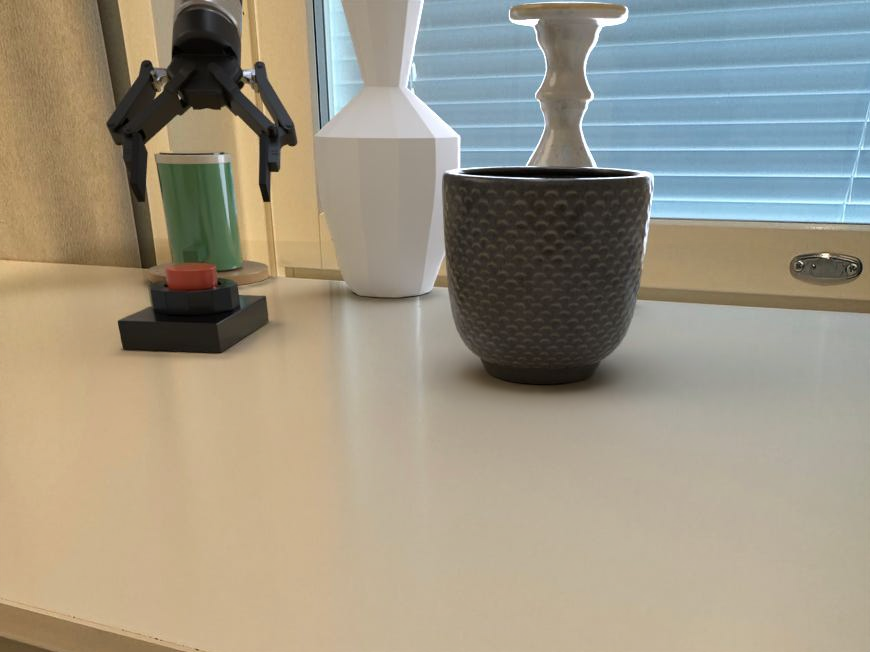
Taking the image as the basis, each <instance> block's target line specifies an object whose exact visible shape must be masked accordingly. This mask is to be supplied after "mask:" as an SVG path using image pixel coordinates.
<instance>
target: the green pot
mask: <svg viewBox="0 0 870 652" xmlns="http://www.w3.org/2000/svg"><path fill="white" fill-rule="evenodd" d="M231 156H232V155H231V153H229V152H225V151H224V150H223V151H222V150H164V151H159V152H157V153H154V162H155V164H156V172H157V178H158V184H159V190H160V195H161V202H162V203H161V204H162V208H163V214H164V221H165V227H166V228H165V229H166V235H167V239H168V245H169V251H170V259H171V263H172V265H175V264H184V263H206V264H212V265H215V266H216V271H221V270H230V269H235V268H239V267H242V266H243V260H244V259H243V257H244V256H243V250H242V243H241V234H240V226H239V217H238V210H237V200H236V193H235V186H234V185H235V184H234V177H233V168H232V157H231Z"/></svg>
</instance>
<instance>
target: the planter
mask: <svg viewBox="0 0 870 652" xmlns="http://www.w3.org/2000/svg"><path fill="white" fill-rule="evenodd" d="M654 179H655V178H654V175H653V173H651V172H648V171H643V170H636V169H626V168H625V169H624V168H610V167H597V168H594V167H558V166H526V165H522V166H521V165H520V166H519V165H514V166H481V167H480V166H479V167H478V166H477V167H465V168H460V169H453V170H448V171H445V173H444V174H443V178H442V203H443V226H444V242H445V256H444V258H445V268H446V269H445V270H446V280H447V281H446V282H447V290H448V291H447V292H448V297H449V304H450V309H451V315H452V318H453V322H454V325H455V329H456V331H457V333H458V336H459V337H460V339H461V340H462V342H463V344H464V346H465V347H466V348H467V349H468V350H469V351H470V352H471V353H472V354H474V355H475V356H476V357H478V358H479V359H480V361H481V363H482V366H483V367H484V369H485V370H486V372H487V373H488V374H489V375H491V376H492V377H494V378H498V379H499V380H500V379H501V380H504V381H509V382H514V383H520V384H528V385H529V384H530V385H557V384H567V383H574V382H578V381H582V380H585V379H588V378H589V377H591V376H592V375H593V374H594V373H595V372H596V371H597V369H598V367H599V366H600V364H601V361H602V360H604V359H606V358H608V357H609V356H610V355H611V354H613V353H614V351H616V350H617V348H618V347H619V346H620V345H621V344H622V342H623V341H624V339H625V338H626V336H627V333H628V331H629V329H630V326H631V323H632V321H633V318H634V313H635V310H636V305H637V301H638V298H639V293H640V286H641V281H642V276H643V275H642V274H643V268H644V262H645V255H646V248H647V242H648V235H649V227H650V220H651V212H652V204H653V203H652V202H653V196H654V186H655V185H654V183H655V182H654Z"/></svg>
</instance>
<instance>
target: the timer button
mask: <svg viewBox="0 0 870 652" xmlns="http://www.w3.org/2000/svg"><path fill="white" fill-rule="evenodd" d="M165 274H166V280H167V286H168V288H172V289H202V288H210V287H216V286H218V279H217V271H216V266H215V265H212V264H206V263H184V264H175V265H169V266H166V267H165Z"/></svg>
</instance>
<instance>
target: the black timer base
mask: <svg viewBox="0 0 870 652" xmlns="http://www.w3.org/2000/svg"><path fill="white" fill-rule="evenodd" d="M217 279H218V286H216V287H210V288H202V289H172V288H168V286H167V280H163V281H157V282H155V283H152V282H151V283H150V284H148V285H147V288H148V294H149V295H148V296H149V301H150V305H149V306H148V307H145V308H143V309H141V310H139V311H137V312H134V313H132V314H130V315H127V316H125V317H123V318H121V319H119V320H117V326H118V331H119V336H120V337H119V338H120V341H121V346H122V349H123V350H124V351H125V350H126V351H128V350H129V351H153V352H154V351H156V352H181V353H182V352H185V353H210V354H211V353H212V354H220V353H222V352H224V351H226V350H227V349H228V348H230V347H232V346H233V345H235V344H237V343H238V342H239V341H241V340H243V339H244V338H246V337H247V336H248V335H250V334H252V333H253V332H255V331H256V330H258V329H259V328H261V327H263V326H264V325H266V324H267V323H269V322H270V318H269V310H268V309H269V308H268V301H267V296H266V295H253V294H251V295H250V294H240V292H239V285H238V284H237V283H236V282H235V281H234V280H230V279H224V278H217Z"/></svg>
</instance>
